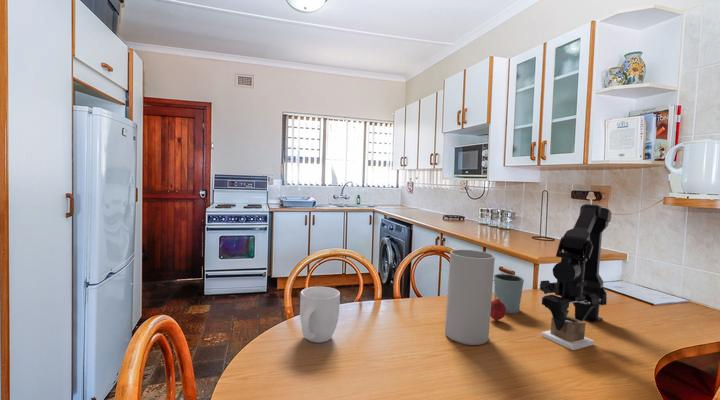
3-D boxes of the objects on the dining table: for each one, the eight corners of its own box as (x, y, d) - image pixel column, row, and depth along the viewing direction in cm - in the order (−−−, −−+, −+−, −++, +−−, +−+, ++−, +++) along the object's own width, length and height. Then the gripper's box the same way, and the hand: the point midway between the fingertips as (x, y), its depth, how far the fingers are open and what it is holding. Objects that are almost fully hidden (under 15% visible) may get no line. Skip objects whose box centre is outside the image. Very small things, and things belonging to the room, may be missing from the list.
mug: (323, 356, 93) (325, 305, 92) (284, 348, 96) (286, 299, 95) (343, 333, 107) (345, 289, 106) (309, 327, 110) (311, 284, 109)
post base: (561, 331, 117) (563, 313, 117) (593, 344, 108) (595, 325, 108) (541, 335, 113) (542, 317, 112) (572, 350, 104) (574, 330, 103)
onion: (506, 325, 120) (508, 301, 119) (488, 323, 121) (490, 299, 120) (503, 318, 125) (505, 295, 125) (485, 316, 127) (487, 293, 126)
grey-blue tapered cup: (523, 308, 137) (525, 277, 136) (518, 316, 128) (521, 282, 128) (495, 302, 142) (497, 272, 142) (488, 309, 134) (491, 277, 133)
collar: (563, 330, 115) (565, 314, 114) (584, 338, 109) (585, 322, 109) (550, 333, 112) (551, 317, 112) (570, 342, 106) (572, 325, 106)
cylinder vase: (458, 324, 118) (463, 248, 116) (495, 338, 109) (502, 255, 108) (436, 335, 109) (442, 252, 108) (475, 350, 100) (481, 260, 99)
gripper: (566, 268, 121) (562, 314, 122) (528, 272, 112) (524, 322, 113) (601, 277, 111) (596, 327, 112) (562, 282, 102) (557, 336, 103)
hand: (568, 327), depth 110 cm, fingers open, 9 cm apart
